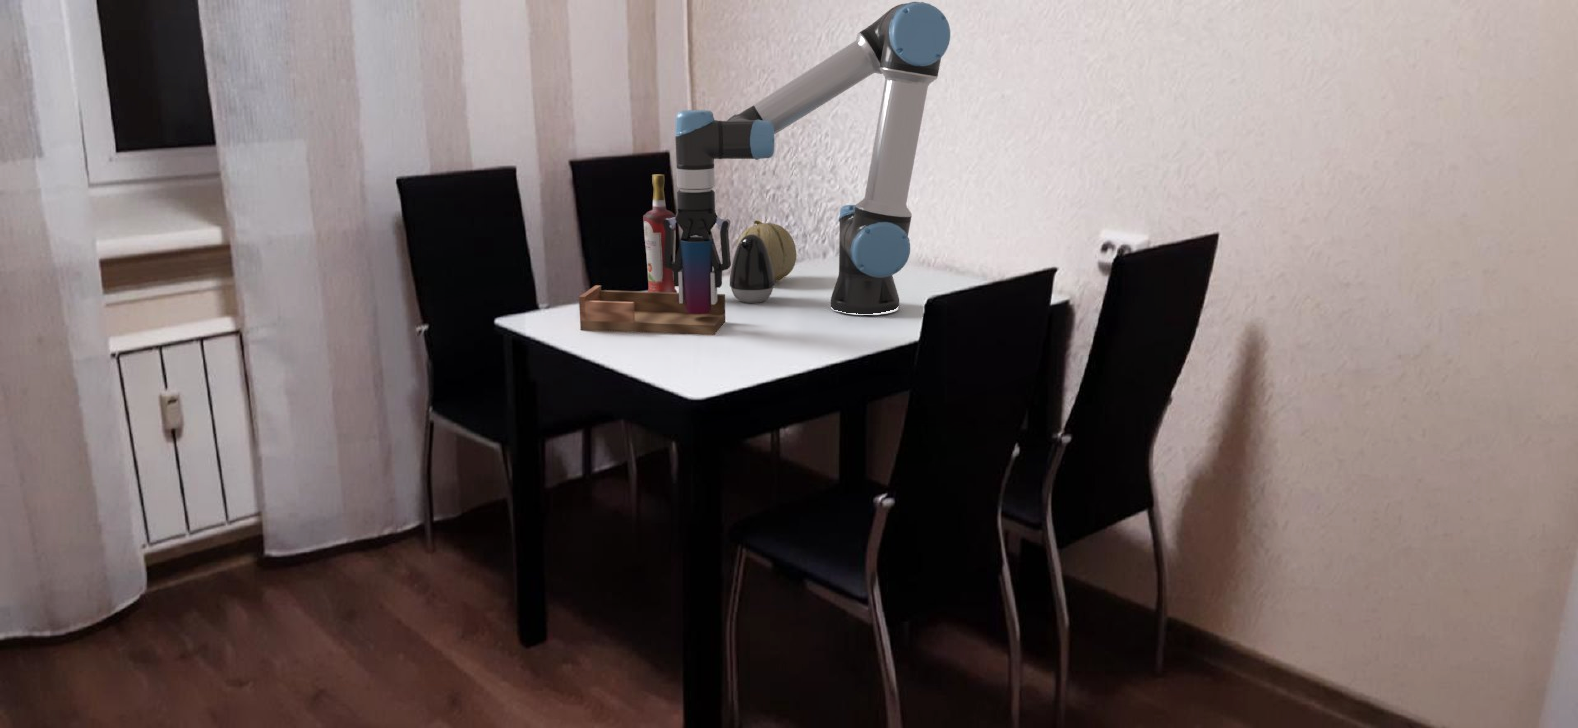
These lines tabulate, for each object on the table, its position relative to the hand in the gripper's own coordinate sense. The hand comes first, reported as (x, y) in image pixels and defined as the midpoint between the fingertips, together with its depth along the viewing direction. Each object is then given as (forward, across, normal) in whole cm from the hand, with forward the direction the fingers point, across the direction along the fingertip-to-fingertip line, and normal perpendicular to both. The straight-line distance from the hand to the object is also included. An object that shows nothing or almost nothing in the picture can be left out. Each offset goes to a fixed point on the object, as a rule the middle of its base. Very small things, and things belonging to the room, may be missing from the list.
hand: (698, 302), depth 237 cm
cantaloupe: (+6, -6, -46) cm, 47 cm away
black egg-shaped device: (+6, -6, -26) cm, 27 cm away
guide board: (+5, +10, 0) cm, 11 cm away
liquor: (+6, +14, -26) cm, 30 cm away
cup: (+2, 0, 0) cm, 2 cm away
